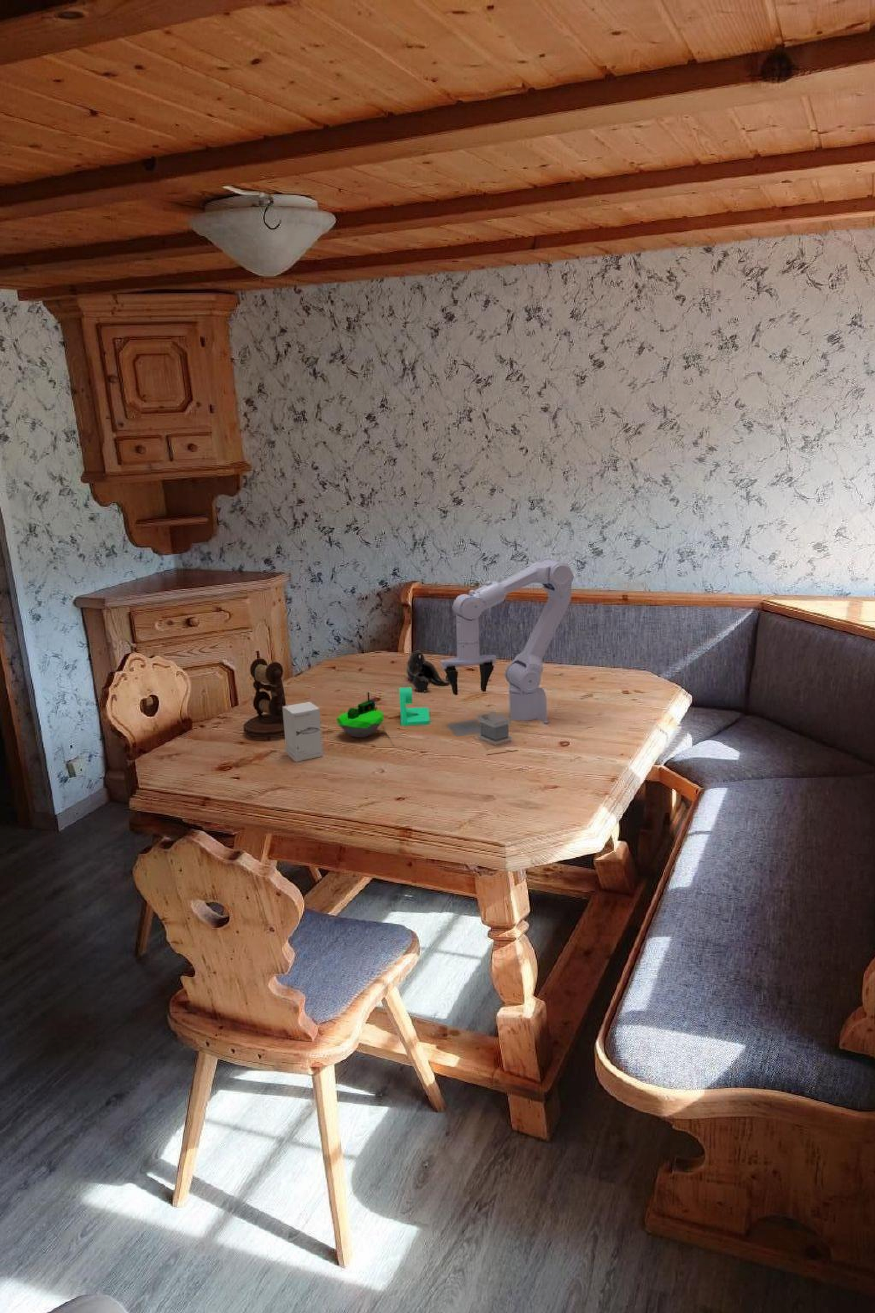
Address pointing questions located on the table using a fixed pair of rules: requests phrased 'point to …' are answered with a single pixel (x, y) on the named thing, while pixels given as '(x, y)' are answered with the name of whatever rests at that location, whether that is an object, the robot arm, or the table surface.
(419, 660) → the cat figurine
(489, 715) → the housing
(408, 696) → the camera mount
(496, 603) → the robot arm
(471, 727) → the stand
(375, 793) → the table surface
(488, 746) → the stand
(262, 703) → the brown upright round-based piece
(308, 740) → the supplement box
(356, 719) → the green floating island model
